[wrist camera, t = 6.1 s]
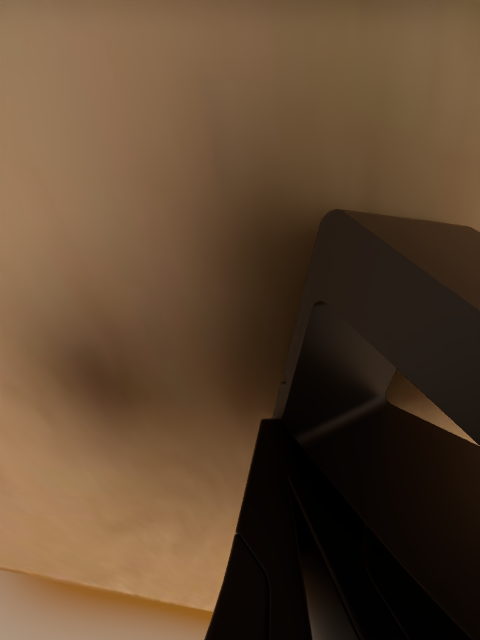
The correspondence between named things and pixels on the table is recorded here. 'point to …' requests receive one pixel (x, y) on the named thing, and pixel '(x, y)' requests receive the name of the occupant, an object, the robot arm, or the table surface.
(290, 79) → the table surface
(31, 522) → the table surface
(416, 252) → the phone stand
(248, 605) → the robot arm
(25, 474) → the table surface
